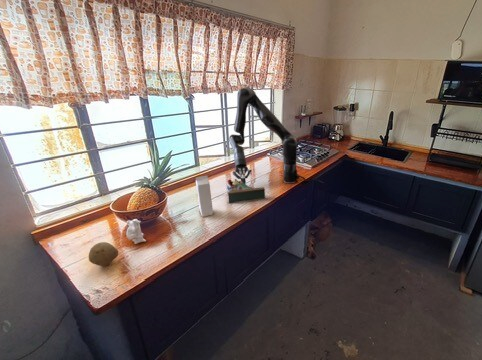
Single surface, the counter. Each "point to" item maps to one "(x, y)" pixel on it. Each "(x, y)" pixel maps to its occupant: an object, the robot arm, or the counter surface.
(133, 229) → the koala figurine
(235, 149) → the robot arm
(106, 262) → the brown rounded lump
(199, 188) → the milk
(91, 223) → the counter surface
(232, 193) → the shoe rail
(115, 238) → the counter surface
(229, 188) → the sneaker
